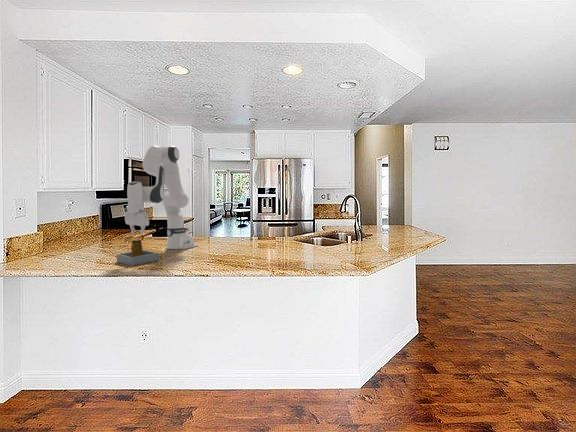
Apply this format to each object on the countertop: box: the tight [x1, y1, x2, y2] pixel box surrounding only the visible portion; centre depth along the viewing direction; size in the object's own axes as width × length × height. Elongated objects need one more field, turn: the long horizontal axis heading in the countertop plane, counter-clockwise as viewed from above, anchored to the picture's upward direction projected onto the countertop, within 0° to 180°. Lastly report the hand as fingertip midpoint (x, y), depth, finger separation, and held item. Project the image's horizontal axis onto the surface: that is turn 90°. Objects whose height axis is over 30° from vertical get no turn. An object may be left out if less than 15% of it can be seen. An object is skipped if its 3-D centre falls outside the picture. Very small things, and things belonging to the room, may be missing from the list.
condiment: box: [130, 239, 143, 257], centre depth 253 cm, size 7×8×12 cm
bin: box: [116, 249, 160, 267], centre depth 254 cm, size 18×17×5 cm
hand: (137, 232), depth 253 cm, fingers open, 8 cm apart
